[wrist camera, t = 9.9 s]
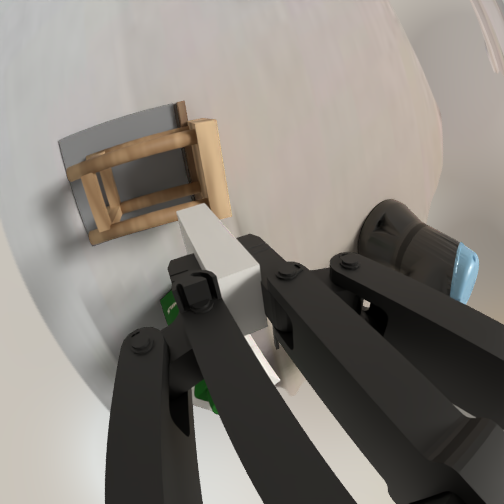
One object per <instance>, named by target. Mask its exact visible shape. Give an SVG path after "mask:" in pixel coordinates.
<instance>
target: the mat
mask: <svg viewBox="0 0 504 504" xmlns="http://www.w3.org/2000/svg"><path fill="white" fill-rule="evenodd" d="M173 129H177V124H176V118H175V112H174V107H173V104H168V105H164V106H160V107H156V108H152V109H148V110H144V111H141V112H137V113H133V114H130V115H127V116H123V117H120V118H117V119H114V120H111V121H108V122H105V123H102V124H99V125H96V126H94V127H91V128H88V129H85V130H83V131H80V132H78V133H75V134H73V135H70V136H68V137H66V138H63V139H61V140H59V144H60V148H61V152H62V156H63V160H64V163H65V167H66V170H67V168H68V167H70V166H73V165H75V164H78V163H80V162H83V161H86V156H88V155H90V154H93V153H96V152H98V151H101V150H104V149H107V148H110V147H113V146H116V145H119V144H122V143H125V142H129V141H132V140H135V139H139V138H142V137H146V136H149V135H153V134H157V133H161V132H164V131H168V130H173ZM111 169H112V173H113V177H114V180H115V184H116V187H117V191H118V194H119V197H120V201H121V202H124V201H127V200H130V199H133V198H137V197H140V196H144V195H147V194H151V193H154V192H158V191H161V190H165V189H169V188H172V187H176V186H180V185H184V184H188V179H187V174H186V170H185V165H184V160H183V155H182V150H181V148H178V149H173V150H170V151H166V152H162V153H158V154H154V155H151V156H147V157H144V158H140V159H137V160H133V161H130V162H127V163H124V164H121V165H117V166H114V167H111ZM96 176H97V180H98V183H99V186H100V190H101V193H102V196H103V199H104V202H105V206H106V207H108V206H110V205H109V202H108V199H107V195H106V192H105V189H104V185H103V182H102V178H101V175H100V172H97V173H96ZM70 184H71V187H72V191H73V194H74V197H75V200H76V203H77V206H78V209H79V211H80V214H81V217H82V220H83V222H84V225H85V228H86V230H87V233H88V235H89V231H92V230H95V229H98V228H97V225H96V222H95V220H94V217H93V214H92V211H91V208H90V205H89V202H88V199H87V196H86V193H85V190H84V187H83V183H82V180H81V178H80V179H78V180H75V181H73V182H70ZM188 202H192V198H191V195H189V196H185V197H182V198H178V199H174V200H170V201H166V202H163V203H159V204H156V205H152V206H149V207H145V208H142V209H138V210H135V211H131V212H128V213H125V214H122V216H121V219H120V221H124V220H127V219H130V218H134V217H137V216H140V215H144V214H147V213H151V212H154V211H158V210H162V209H165V208H169V207H173V206H176V205H180V204H184V203H188ZM105 242H106V241H105ZM102 243H103V242H102ZM99 244H101V243H99ZM96 245H98V244H96ZM93 246H95V245H93Z"/></svg>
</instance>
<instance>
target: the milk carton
mask: <svg viewBox="0 0 504 504" xmlns="http://www.w3.org/2000/svg"><path fill="white" fill-rule="evenodd" d="M160 302H161V305H162V309H163V312H164V315H165V318H166V321H167V324H168V326H169V325H170V324H171V323H172V322H173V321H174V320H175V319H176V317H177V315H178V313H179V309H178V306H177V304H176V301H175V299H174V296H173V293H172V290H171V291H170V292H169V293H168V294H167V295H165V296H164V297H163V298H162V299H161V300H160ZM244 337H245V338H246V340H247V342H248V343H249V345H250V347H251V348H252V350H253V352H254V353H255V355H256V357H257V358H258V360H259V362H260V363H261V365H262V366H263V368H264V370H265V371H266V373H267V374H268V376H269V378H270V379H271V381H272V382H273V384H274V385H275V384H276V383H278V382H279V381H280V379H279V378H278V376H277V375H276V373H275V372H274V370H273V369H272V367H271V366H270V365H269V363H268V362H267V360H266V359H265V357H264V356H263V354H262V352H261V351H260V349H259V348H258V347H257V345H256V343H255V342H254V340H253V338H252V337H251V335H250V334H248V335H246V336H244ZM191 389H192V401H193V405H195V406H198V407H201V408H204V409H208V410H211V411H213V412H214V413H215V414H218V411H217V409H216V407H215V404H214V402H213V400H212V397H211V395H210V393H209V390H208V388H207V385H206V383H205V380H204V379H203V380H202V381H201V382H199V383H198V384H196V385H195V386H194V387H192V388H191ZM218 415H219V414H218Z"/></svg>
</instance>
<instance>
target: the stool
mask: <svg viewBox="0 0 504 504" xmlns="http://www.w3.org/2000/svg"><path fill="white" fill-rule="evenodd" d="M187 124H188V126H186V127H181V128H177V129H173V130H168V131H164V132H161V133H157V134H153V135H149V136H146V137H142V138H139V139H135V140H132V141H129V142H125V143H122V144H119V145H116V146H113V147H110V148H107V149H104V150H101V151H98V152H96V153H93V154H90V155H88V156H86V161H83V162H80V163H78V164H75V165H73V166H70V167H68V168H67V170H66V173H67V177H68V180H69V181H70V182H73V181H75V180H78V179H80V178H81V180H82V183H83V187H84V190H85V193H86V196H87V199H88V202H89V205H90V208H91V211H92V214H93V217H94V220H95V222H96V225H97V228H98V229H95V230H92V231H89V240H90V242H91V244H92V245H96V244H99V243H102V242H105V241H109V240H112V239H115V238H118V237H122V236H125V235H128V234H132V233H135V232H139V231H142V230H146V229H149V228H153V227H156V226H160V225H163V224H167V223H171V222H174V221H178V217H177V213H176V211H179V210H182V209H186V208H189V207H192V206H196V205H199V204H202V203H205V204H206V205H207V206H208V208H209V209H210V210H211V211H212V212H213V213H214V214H215V215H216V216H217V218H218V219H223V218H227V217H232V212H231V206H230V200H229V195H228V189H227V183H226V177H225V171H224V165H223V158H222V152H221V146H220V140H219V134H218V127H217V121H216V120H215V119H206V118H201V119H196V120H191V121H187ZM190 145H191V146H192V151H193V157H194V162H195V167H196V172H197V177H198V181H196V182H192V183H188V184H184V185H180V186H176V187H172V188H169V189H165V190H161V191H158V192H154V193H151V194H147V195H144V196H140V197H137V198H133V199H130V200H127V201H124V202H121V201H120V197H119V194H118V191H117V187H116V184H115V180H114V177H113V173H112V169H111V167H114V166H117V165H121V164H124V163H127V162H130V161H133V160H137V159H140V158H144V157H147V156H151V155H154V154H158V153H162V152H166V151H170V150H173V149H178V148H182V147H186V146H190ZM97 172H100V175H101V178H102V182H103V185H104V189H105V192H106V195H107V199H108V202H109V205H110V206H108V207H106V206H105V202H104V199H103V196H102V193H101V190H100V186H99V183H98V180H97V176H96V173H97ZM197 193H201V195H202V197H203V199H200V200H196V201H192V202H188V203H184V204H180V205H176V206H173V207H169V208H165V209H162V210H158V211H154V212H151V213H147V214H144V215H140V216H137V217H134V218H130V219H127V220H124V221H120V219H121V216H122V214H125V213H128V212H131V211H135V210H138V209H142V208H145V207H149V206H152V205H156V204H159V203H163V202H166V201H170V200H174V199H178V198H182V197H185V196H189V195H193V194H197Z"/></svg>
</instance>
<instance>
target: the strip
mask: <svg viewBox="0 0 504 504" xmlns="http://www.w3.org/2000/svg"><path fill="white" fill-rule="evenodd" d="M176 106H177V111H178V117H179V123H180V128H181V127H186V126H188V124H187V121H188V118H187V112H186V106H185V101H180V102H177V103H176ZM184 149H185V154H186V159H187V164H188V169H189V174H190V179H191V183H192V182H196V181H198V177H197V172H196V167H195V162H194V157H193V151H192V146H191V145H190V146H186V147H184ZM194 198H195V201H196V200H200V199H203V197H202V195H201V193H197V194H194Z"/></svg>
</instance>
